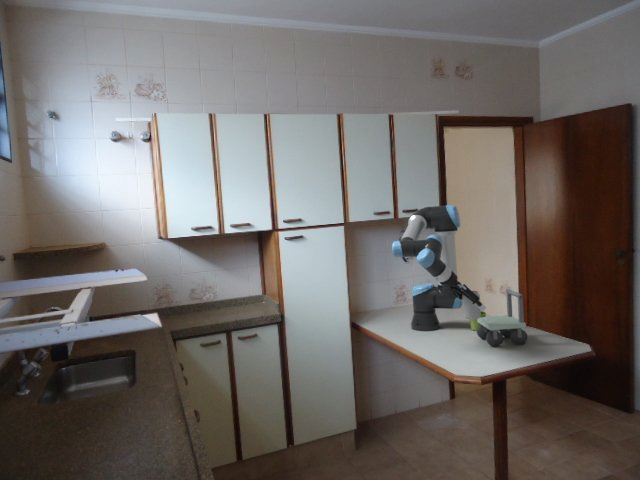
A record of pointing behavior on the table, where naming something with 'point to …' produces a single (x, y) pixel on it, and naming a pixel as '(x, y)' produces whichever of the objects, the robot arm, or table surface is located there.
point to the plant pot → (474, 322)
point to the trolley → (504, 324)
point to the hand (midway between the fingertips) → (478, 307)
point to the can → (470, 308)
